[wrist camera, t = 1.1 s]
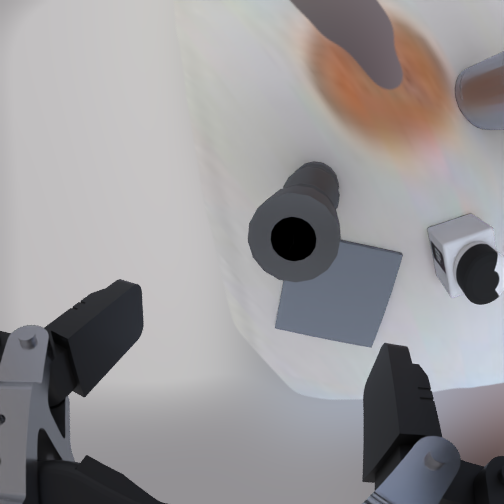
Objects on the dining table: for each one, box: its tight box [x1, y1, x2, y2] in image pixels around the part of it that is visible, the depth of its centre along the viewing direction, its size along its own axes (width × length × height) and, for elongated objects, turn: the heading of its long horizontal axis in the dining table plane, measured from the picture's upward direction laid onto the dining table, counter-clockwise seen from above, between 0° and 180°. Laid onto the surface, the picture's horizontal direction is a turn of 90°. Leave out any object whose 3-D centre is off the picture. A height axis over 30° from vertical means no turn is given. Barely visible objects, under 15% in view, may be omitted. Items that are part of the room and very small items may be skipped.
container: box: [428, 214, 504, 305], centre depth 34 cm, size 8×8×13 cm
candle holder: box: [248, 162, 340, 282], centre depth 31 cm, size 6×6×25 cm
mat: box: [275, 240, 403, 347], centre depth 46 cm, size 16×16×1 cm
